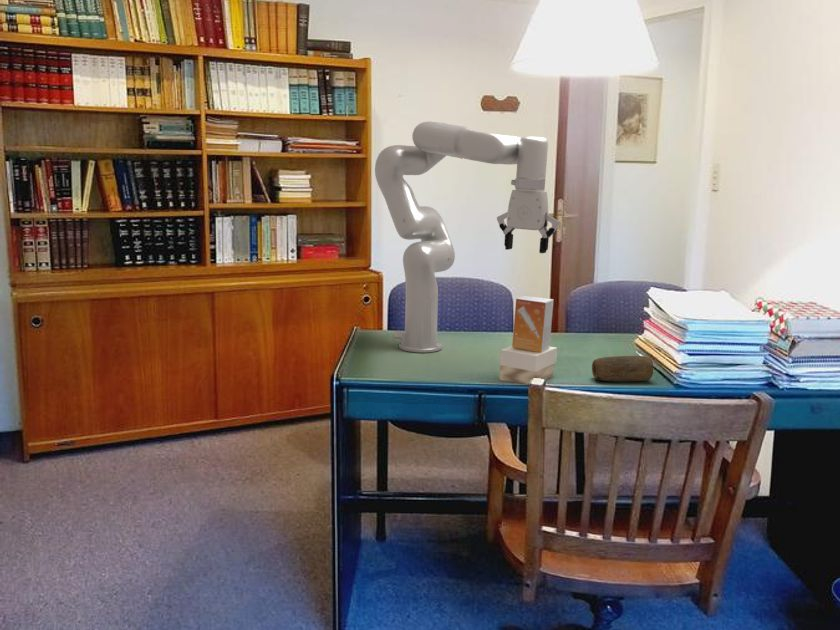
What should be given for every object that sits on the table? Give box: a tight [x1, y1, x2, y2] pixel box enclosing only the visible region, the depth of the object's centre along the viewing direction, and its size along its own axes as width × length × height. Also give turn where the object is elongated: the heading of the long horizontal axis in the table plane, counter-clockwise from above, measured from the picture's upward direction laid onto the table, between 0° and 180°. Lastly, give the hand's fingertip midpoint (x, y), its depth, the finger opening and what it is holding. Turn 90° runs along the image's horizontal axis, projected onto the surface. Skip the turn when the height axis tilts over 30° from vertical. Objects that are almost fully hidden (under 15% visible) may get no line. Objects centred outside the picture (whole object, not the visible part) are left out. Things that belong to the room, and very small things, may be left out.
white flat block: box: [499, 345, 558, 372], centre depth 199 cm, size 10×12×4 cm
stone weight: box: [591, 355, 654, 382], centre depth 199 cm, size 15×7×7 cm, turn 97°
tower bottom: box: [499, 363, 555, 385], centre depth 200 cm, size 10×12×4 cm
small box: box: [511, 295, 554, 353], centre depth 198 cm, size 8×6×13 cm
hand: (525, 251), depth 204 cm, fingers open, 9 cm apart
